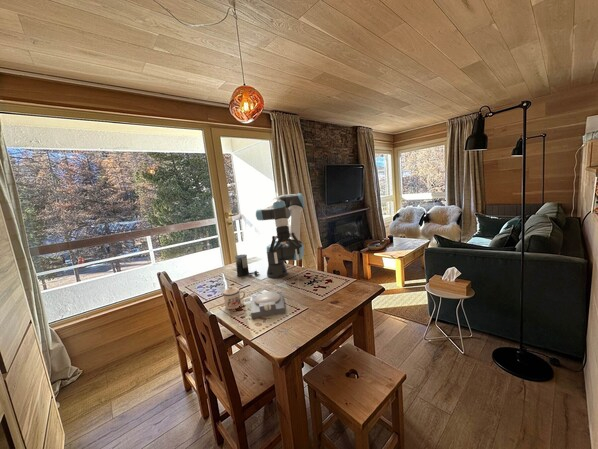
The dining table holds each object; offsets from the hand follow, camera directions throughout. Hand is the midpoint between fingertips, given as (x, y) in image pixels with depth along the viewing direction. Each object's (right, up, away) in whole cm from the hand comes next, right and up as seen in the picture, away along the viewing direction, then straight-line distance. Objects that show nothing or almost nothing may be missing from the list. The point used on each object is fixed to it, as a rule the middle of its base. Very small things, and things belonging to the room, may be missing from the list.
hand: (287, 261), depth 149 cm
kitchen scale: (-10, -23, -12) cm, 27 cm away
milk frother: (-32, -16, +42) cm, 55 cm away
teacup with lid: (-29, -24, -6) cm, 38 cm away
